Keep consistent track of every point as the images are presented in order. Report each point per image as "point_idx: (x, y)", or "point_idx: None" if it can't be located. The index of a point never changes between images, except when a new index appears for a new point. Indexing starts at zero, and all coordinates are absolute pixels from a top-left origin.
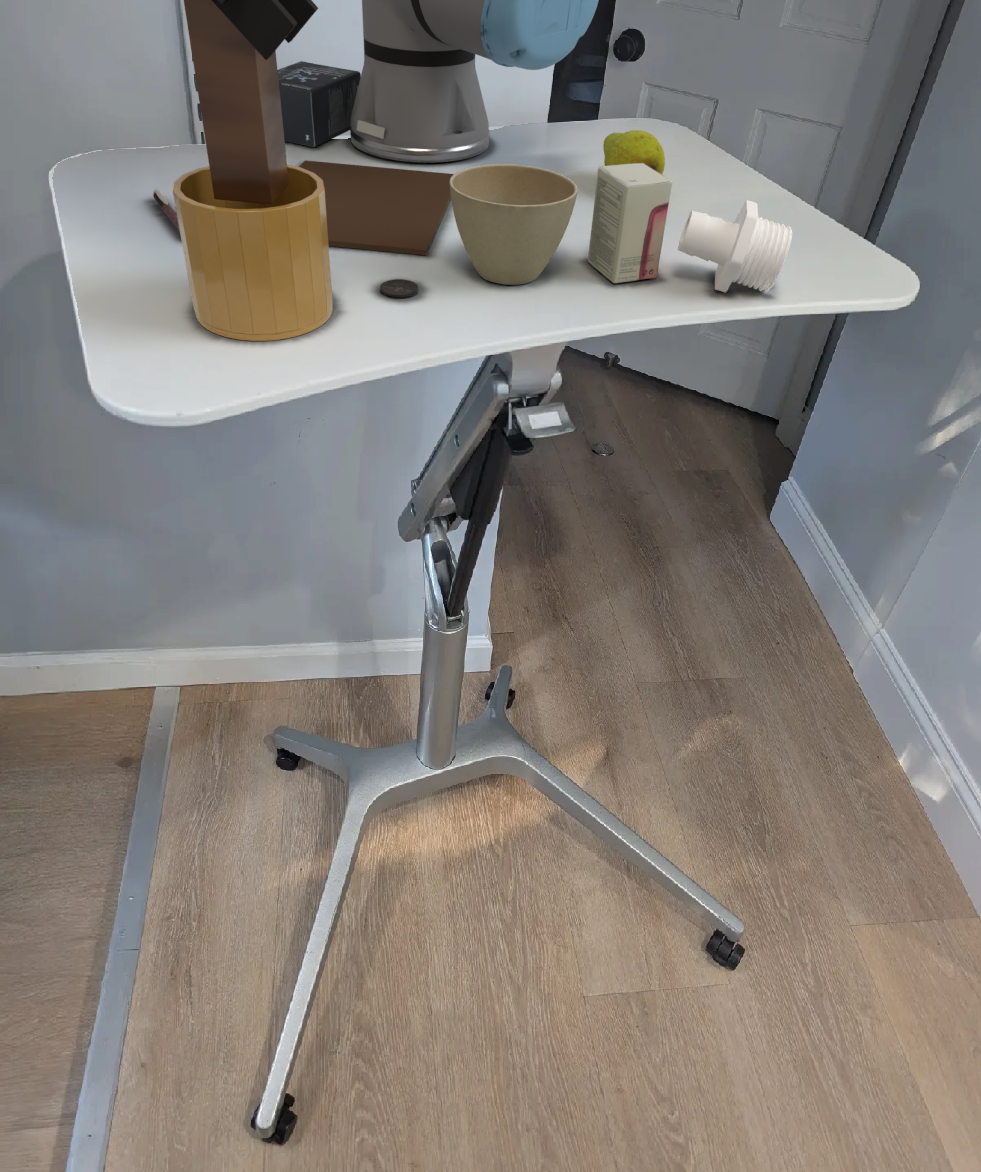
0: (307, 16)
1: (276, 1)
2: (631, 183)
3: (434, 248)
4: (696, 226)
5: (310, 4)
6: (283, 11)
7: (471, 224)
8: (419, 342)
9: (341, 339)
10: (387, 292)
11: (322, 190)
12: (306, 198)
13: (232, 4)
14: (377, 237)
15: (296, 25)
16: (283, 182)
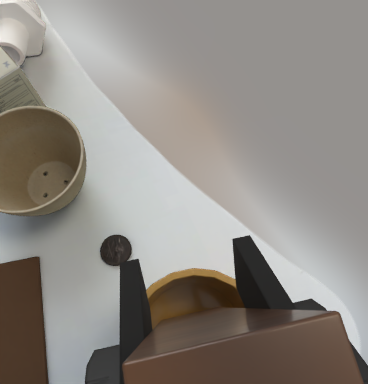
0: (141, 272)
1: (252, 259)
2: (13, 64)
3: (20, 256)
4: (16, 42)
5: (137, 265)
6: (252, 248)
7: (79, 185)
8: (190, 205)
9: (209, 256)
10: (128, 254)
11: (178, 271)
12: (206, 274)
13: None
14: (22, 309)
15: (145, 291)
16: (177, 316)
